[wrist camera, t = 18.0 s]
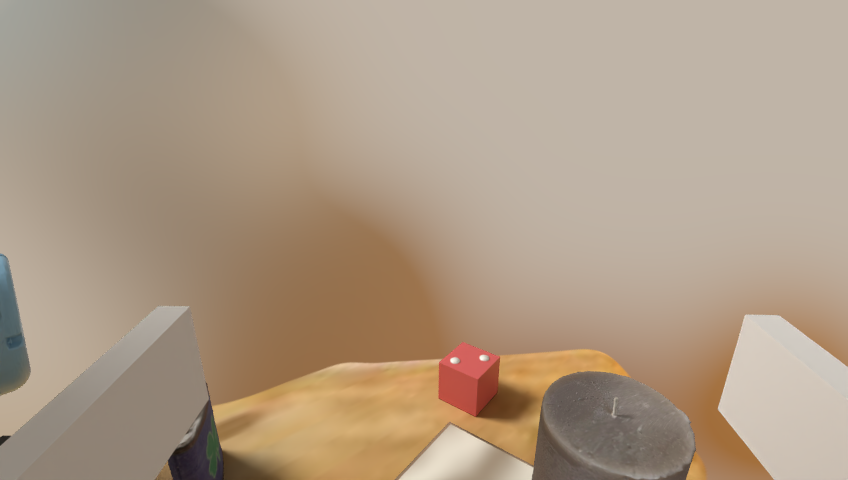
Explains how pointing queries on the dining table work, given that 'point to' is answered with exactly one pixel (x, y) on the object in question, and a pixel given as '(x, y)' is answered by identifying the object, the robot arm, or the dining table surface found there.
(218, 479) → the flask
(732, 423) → the robot arm
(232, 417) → the dining table surface
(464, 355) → the red die
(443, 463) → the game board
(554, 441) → the pillar candle
